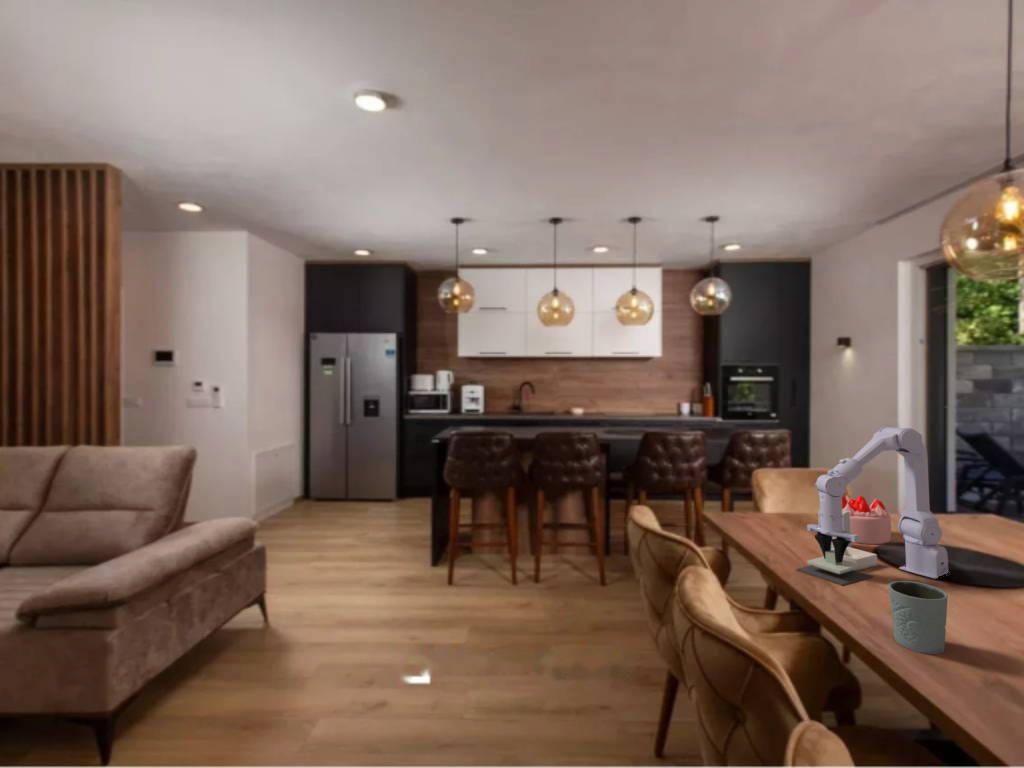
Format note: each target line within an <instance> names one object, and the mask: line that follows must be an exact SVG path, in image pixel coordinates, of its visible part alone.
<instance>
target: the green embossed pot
mask: <svg viewBox="0 0 1024 768" xmlns="http://www.w3.org/2000/svg"><path fill="white" fill-rule="evenodd" d="M888 590H889V591H888V592H889V599H890V608H891V615H892V616H891V618H892V624H893V625H892V626H893V638H894V641H895V643H896V644H898V643H899V644H900V645H899V644H898V645H899V646H901V645H902V646H901V647H903V646H904V647H903V648H905V647H906V648H905V649H907V648H908V649H907V650H910V649H911V651H913V650H914V651H913V652H916V651H917V653H920V652H921V654H925V655H926V654H928V655H940V654H942V653H944V652H945V649H946V647H945V645H946V643H945V642H946V633H947V632H946V631H947V630H946V625H947V618H948V617H947V613H948V600H949V599H948V594H947V593H946V592H945V591H944V590H942V589H940V588H939V587H936V586H933V585H930V584H927V583H922V582H917V581H911V580H895V581H891V582H889V583H888Z"/></svg>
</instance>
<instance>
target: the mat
mask: <svg viewBox="0 0 1024 768" xmlns="http://www.w3.org/2000/svg"><path fill="white" fill-rule="evenodd" d="M795 570H796V571H797V570H798V572H800V571H801V572H800V573H803V574H806V575H810V576H813V577H815V578H818V579H821V580H824V581H827V582H830V583H834V584H836V585H839V586H846V585H849V584H852V583H853V584H854V583H856V582H861V581H864V580H867V579H870V578H873V575H872V574H868V573H865V572H862V571H860V570H859V571H856V570H852V571H849V572H845V573H842V574H836V573H832V572H829V571H826V570H823V569H820V568H817V567H814V566H813V565H811V564H809V565H807V566H802V567H800V568H796V569H795Z"/></svg>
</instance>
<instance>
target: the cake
mask: <svg viewBox="0 0 1024 768" xmlns="http://www.w3.org/2000/svg"><path fill="white" fill-rule="evenodd" d="M873 499H874V500H873V502H872V503H871V504H869V503H868V501H867V500H866V498H865V497H864V496H863V495H859V496H856V498H855V499H853V498H852V499H851V498H850V497H849V496H848V495H847V494H846V495H845V496H843V495H842V510H844V511H849V513H850V531H851V533H853V534H856V535H859V542H856V543H857V544H861V545H862V544H866V545H884V544H888V543H890V542H891V541H892V523H891V522H892V521H891V519H892V518H891V515H890V513H888V510H886V506H885V505H884V503H883V502H882V500H880V499H879V500H878V499H876V498H875V497H874V498H873ZM856 543H855V544H856Z"/></svg>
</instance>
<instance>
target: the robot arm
mask: <svg viewBox="0 0 1024 768" xmlns="http://www.w3.org/2000/svg"><path fill="white" fill-rule="evenodd" d="M884 451H885V452H887V451H895V452H897V453H898V454H899V455H900V456H902V457H903V458H904V459H903V460H904V479H905V480H904V482H905V483H904V484H905V506H906V507H905V509H903V510H902V511H901V512H900V519H899V521H898V524H897V528H898V531H899V532H900V533H901V534H902V537H903V539H904V545H905V547H904V549H905V550H904V551H905V565H903V566H900V567H899V568H898V569H899V570H901V571H905V572H910V573H913V574H915V575H916V574H917V575H920V576H923V577H927V578H929V579H934V580H935V579H939V578H938V577H939V576H942V575H944V574H947V573H948V572H949V558H948V557H949V555H948V550H947V549H946V548H945V547H944V546H941V545H938V543H939V542H940V541H941V540H942V538H943V530H942V528H941V526H940V524H939V519H938V518H937V516H935V514H933V512H932V511H931V510H930V507H931V506H930V489H929V488H930V486H929V466H928V465H929V464H928V462H929V460H928V451H927V448H926V446H925V445H924V442H923V435H922V434H921V433H919V431H917V430H916V429H914V428H908V427H905V428H903V427H894V426H893V427H892V426H889V425H888V426H883V427H881V428H880V429H879V430H878V431H876V432H875V433H874V434H873V436H872V438H871V439H870V440H869V442H867V443H866V444H865V445H864V446H863V447H862V448H861V449H860V450H858V451H857V453H856V454H855V455H854V456H853V457H852V458H850V457H846V458H841V459H840V460H839V461H838V464H837V465H836V466H834V467H833V468H832V469H829V470H828V471H827V473H826V474H821V475H820V476H818V477H817V479H816V482H814V487H815V489H816V490H817V492H818V496H819V510H820V518H821V526H820V525H819V524H813V523H809V524H807V525H806V526H807V527H806V528H807V530H806V531H807V532H814V533H816V534H815V535H814V538H815V540H816V541H817V544H818V545H820V546H819V548H820V550H821V552H822V557H823V556H824V559H826V558H825V551H829V550H831V542H832V543H833V546H834V550H835V560H836V562H837V563H840V562H842V561H843V556H844V553H845V550H846V548H847V546H848V545H849V543H850V542H851V543H855V544H856V542H859V535H856V534H853V533H850V532H847V531H845V530H843V514H842V496H843V495H844V494H845V493H846V491H847V487H848V486H849V484H851V482H853V481H854V480H855V479H856V478H857V477H859V475H861V474H862V473H863V467H864V466H865V465H866V464H868V463H869V462H870V461H872V460H873V459H875V458H876V457H877V456H879V455H880V454H881V453H883V452H884ZM832 537H837V539H832ZM905 566H906V567H905Z"/></svg>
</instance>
